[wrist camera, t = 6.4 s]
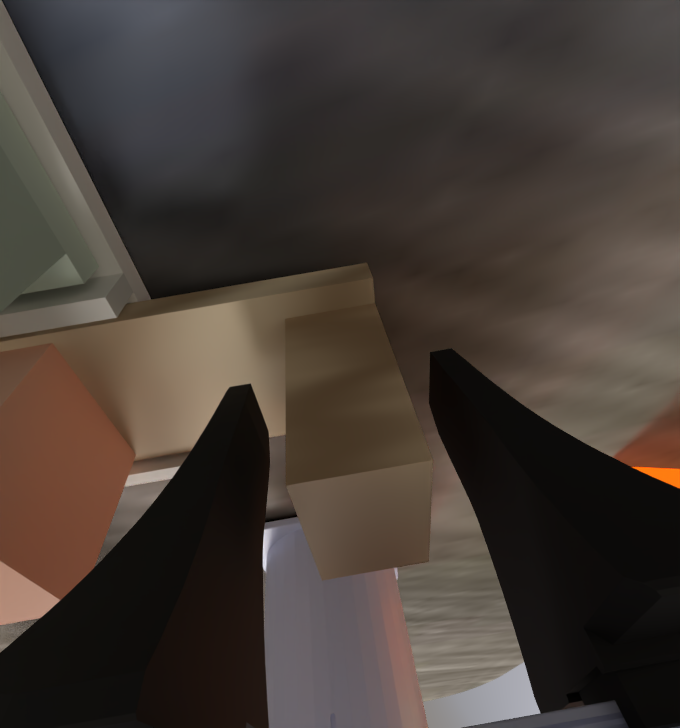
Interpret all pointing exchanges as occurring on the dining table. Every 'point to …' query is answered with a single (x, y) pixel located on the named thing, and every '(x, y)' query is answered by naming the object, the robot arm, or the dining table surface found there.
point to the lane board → (73, 184)
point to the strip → (34, 223)
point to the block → (52, 480)
